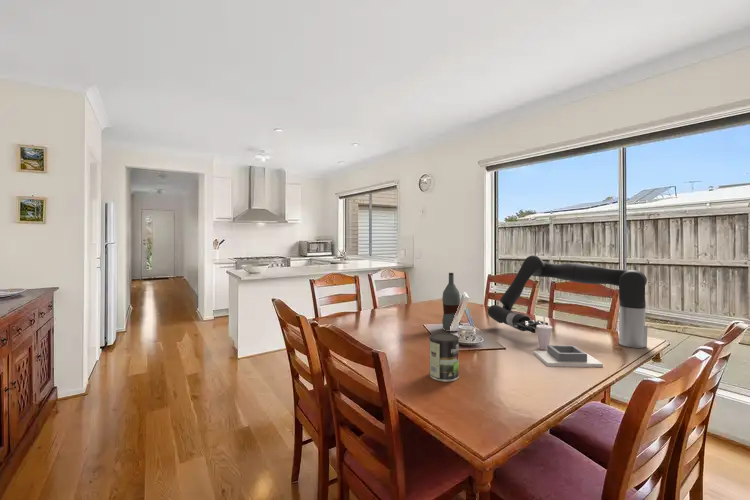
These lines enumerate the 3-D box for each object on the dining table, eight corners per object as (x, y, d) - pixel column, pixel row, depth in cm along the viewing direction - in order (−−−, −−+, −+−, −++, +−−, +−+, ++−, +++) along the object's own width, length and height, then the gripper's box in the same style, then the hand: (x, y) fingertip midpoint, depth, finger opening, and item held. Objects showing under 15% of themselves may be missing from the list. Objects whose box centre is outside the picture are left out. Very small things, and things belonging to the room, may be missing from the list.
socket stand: (583, 354, 145) (583, 344, 145) (602, 367, 131) (603, 355, 131) (533, 353, 146) (533, 343, 146) (547, 366, 132) (547, 355, 132)
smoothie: (551, 346, 155) (551, 315, 154) (553, 351, 149) (553, 318, 148) (535, 345, 157) (535, 314, 156) (536, 349, 151) (537, 317, 150)
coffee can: (462, 373, 126) (462, 335, 125) (453, 384, 117) (453, 342, 117) (435, 368, 131) (435, 331, 131) (424, 378, 123) (424, 338, 122)
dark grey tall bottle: (459, 333, 177) (459, 274, 176) (441, 331, 180) (440, 273, 179) (461, 328, 186) (460, 272, 185) (443, 327, 189) (443, 271, 188)
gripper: (505, 314, 167) (529, 322, 151) (530, 312, 171) (556, 320, 155) (505, 330, 167) (529, 339, 151) (530, 327, 171) (556, 336, 155)
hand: (542, 329), depth 153 cm, fingers open, 8 cm apart
